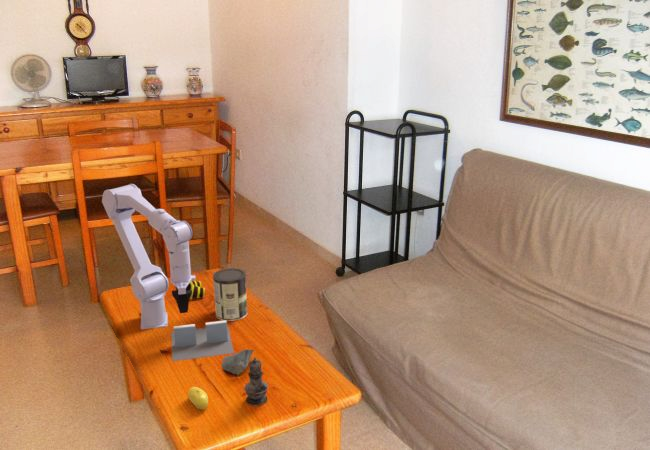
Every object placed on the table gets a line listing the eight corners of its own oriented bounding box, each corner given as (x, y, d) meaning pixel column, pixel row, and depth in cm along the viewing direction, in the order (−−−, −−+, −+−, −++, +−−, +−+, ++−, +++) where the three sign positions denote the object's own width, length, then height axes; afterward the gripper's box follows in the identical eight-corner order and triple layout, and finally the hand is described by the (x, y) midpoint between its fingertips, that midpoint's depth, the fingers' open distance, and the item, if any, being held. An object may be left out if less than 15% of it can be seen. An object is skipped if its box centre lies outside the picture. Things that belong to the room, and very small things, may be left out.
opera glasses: (205, 301, 204) (207, 288, 203) (189, 301, 202) (191, 287, 200) (198, 290, 212) (199, 277, 211) (183, 290, 210) (185, 277, 209)
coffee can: (238, 304, 200) (236, 265, 195) (253, 316, 191) (251, 276, 187) (210, 312, 194) (207, 272, 190) (223, 325, 186) (221, 283, 181)
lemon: (195, 415, 144) (194, 401, 142) (186, 397, 150) (185, 384, 149) (212, 410, 145) (211, 396, 144) (202, 393, 152) (201, 379, 151)
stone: (220, 385, 157) (256, 373, 157) (214, 372, 156) (251, 360, 156) (223, 366, 168) (257, 355, 168) (218, 354, 167) (252, 343, 167)
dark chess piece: (245, 393, 152) (243, 351, 148) (268, 392, 152) (267, 350, 148) (244, 407, 146) (242, 364, 142) (268, 406, 147) (266, 363, 143)
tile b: (206, 341, 176) (205, 322, 174) (227, 338, 177) (226, 320, 175) (207, 343, 174) (205, 325, 173) (227, 341, 176) (226, 322, 174)
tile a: (175, 344, 174) (173, 326, 172) (196, 342, 175) (194, 323, 173) (175, 347, 172) (173, 329, 170) (196, 344, 174) (195, 326, 172)
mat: (171, 333, 181) (171, 332, 181) (227, 326, 185) (227, 325, 185) (172, 362, 166) (172, 361, 165) (234, 354, 170) (234, 353, 170)
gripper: (195, 272, 166) (198, 316, 170) (193, 253, 179) (196, 294, 184) (169, 274, 164) (172, 318, 169) (169, 255, 178) (172, 297, 182)
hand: (183, 306), depth 176 cm, fingers open, 7 cm apart
